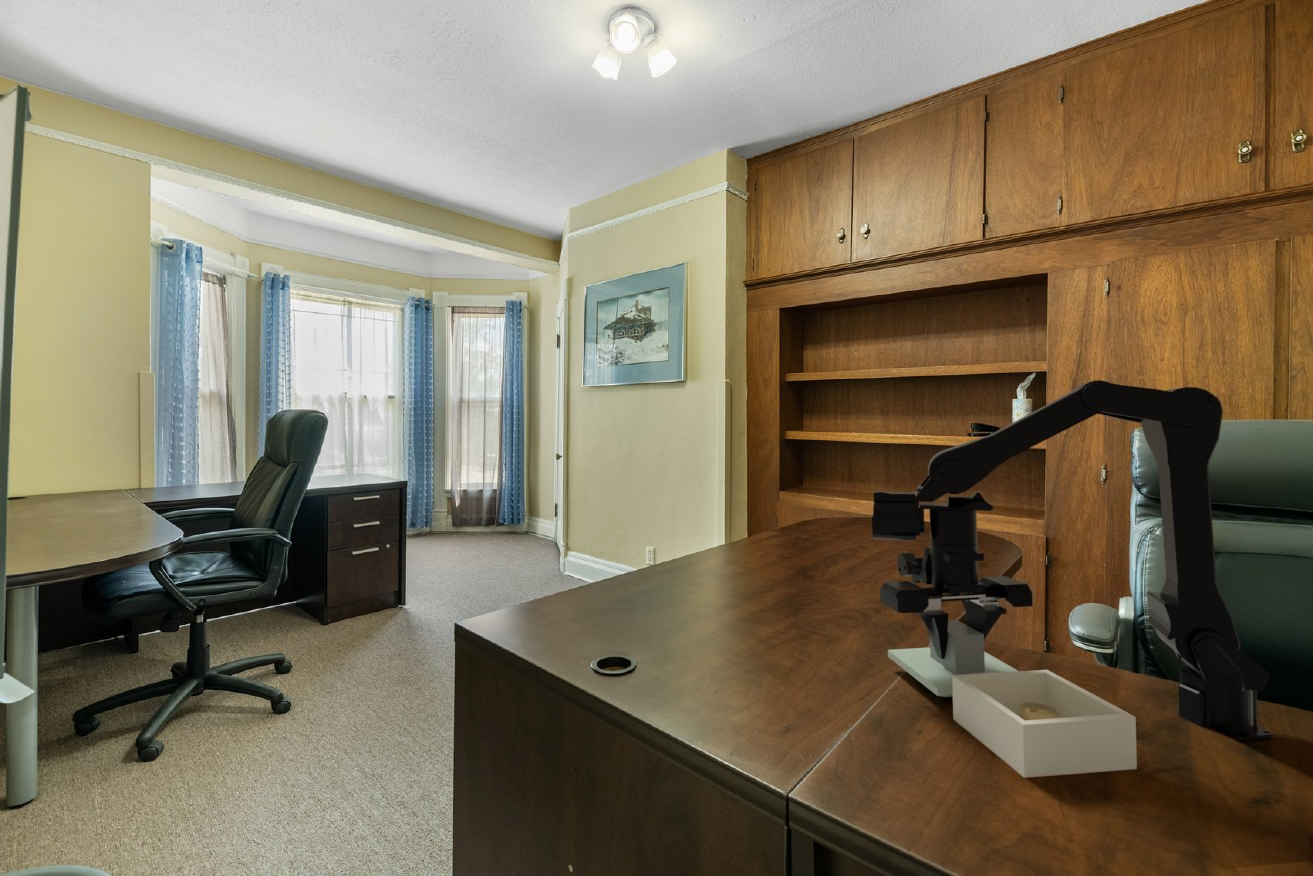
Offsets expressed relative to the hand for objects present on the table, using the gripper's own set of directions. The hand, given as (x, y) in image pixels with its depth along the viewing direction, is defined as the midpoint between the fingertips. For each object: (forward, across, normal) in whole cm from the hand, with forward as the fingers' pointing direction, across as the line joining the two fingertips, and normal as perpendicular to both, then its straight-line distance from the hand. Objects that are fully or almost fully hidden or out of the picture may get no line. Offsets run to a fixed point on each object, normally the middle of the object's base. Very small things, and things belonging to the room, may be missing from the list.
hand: (956, 657), depth 79 cm
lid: (+2, 0, 0) cm, 2 cm away
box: (+4, 0, +15) cm, 16 cm away
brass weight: (+4, -1, +14) cm, 15 cm away
